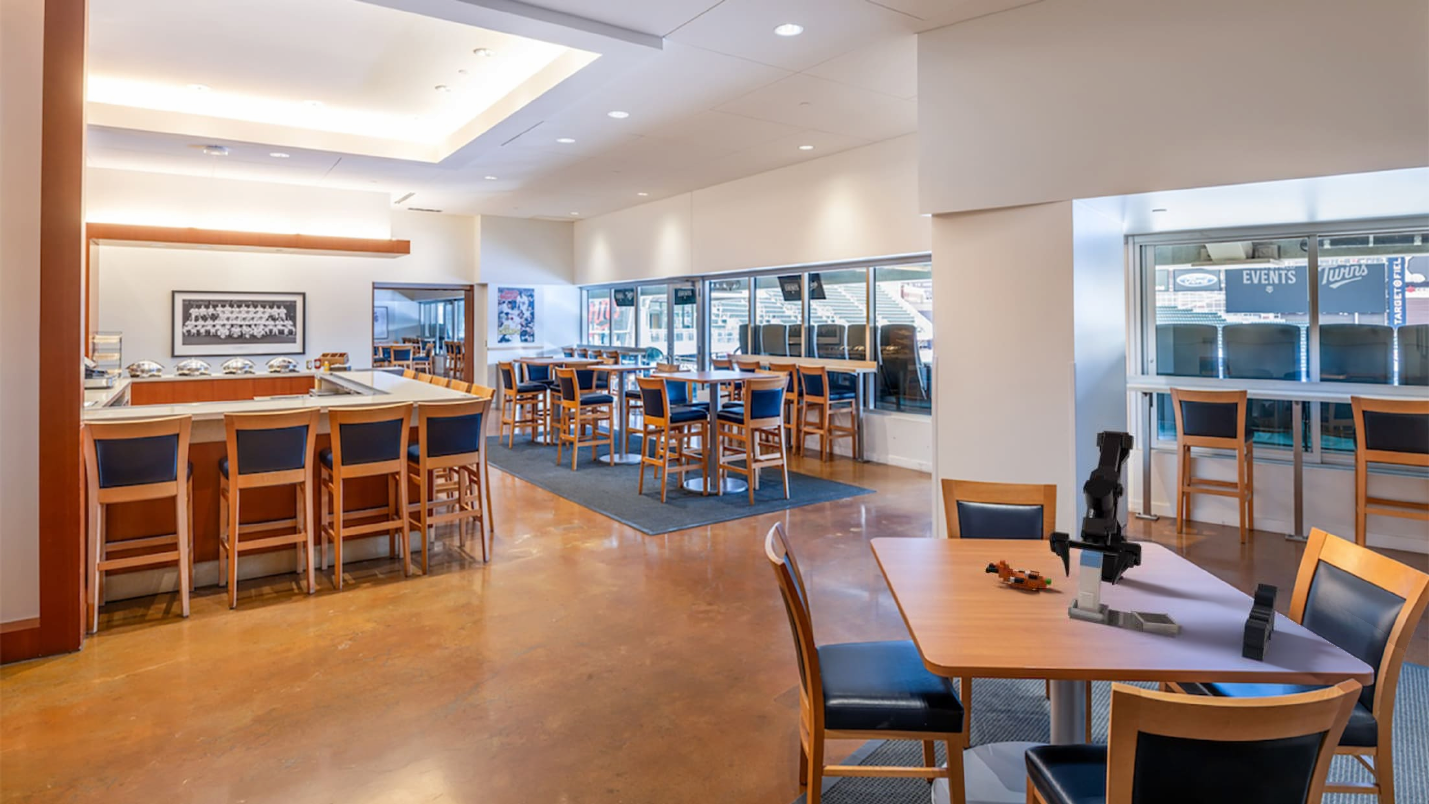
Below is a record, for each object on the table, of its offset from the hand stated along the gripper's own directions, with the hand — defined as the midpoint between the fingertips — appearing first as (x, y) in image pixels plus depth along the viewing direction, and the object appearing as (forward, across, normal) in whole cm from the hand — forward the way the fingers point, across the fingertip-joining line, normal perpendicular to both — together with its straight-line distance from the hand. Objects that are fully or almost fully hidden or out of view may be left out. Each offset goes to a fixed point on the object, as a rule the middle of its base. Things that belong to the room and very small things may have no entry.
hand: (1089, 580), depth 164 cm
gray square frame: (+5, +13, +8) cm, 16 cm away
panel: (+5, +6, +7) cm, 11 cm away
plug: (+5, 0, +7) cm, 8 cm away
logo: (+3, +31, +10) cm, 33 cm away
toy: (-3, -17, +16) cm, 24 cm away
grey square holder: (+5, 0, +7) cm, 9 cm away
